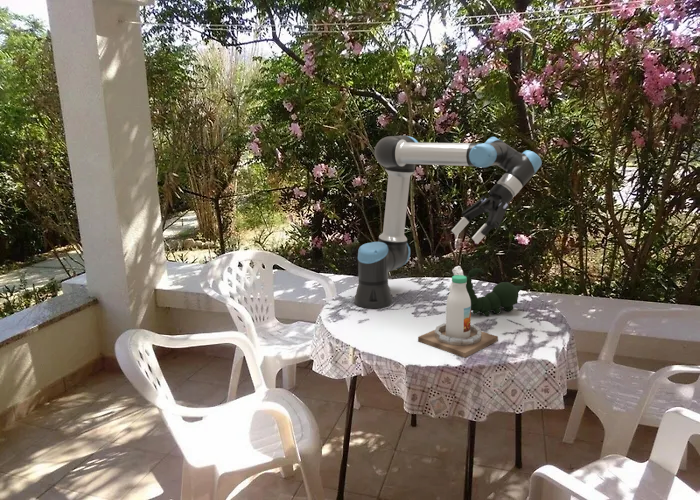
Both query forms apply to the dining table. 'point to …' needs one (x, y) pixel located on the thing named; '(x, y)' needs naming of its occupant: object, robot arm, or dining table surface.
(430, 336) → the plate
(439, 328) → the metal collar
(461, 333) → the milk bottle
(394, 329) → the dining table surface
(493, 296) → the toy figurine
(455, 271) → the seated beast figurine
